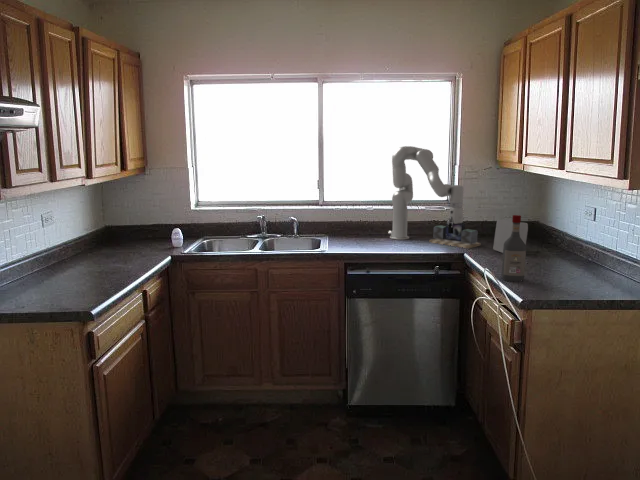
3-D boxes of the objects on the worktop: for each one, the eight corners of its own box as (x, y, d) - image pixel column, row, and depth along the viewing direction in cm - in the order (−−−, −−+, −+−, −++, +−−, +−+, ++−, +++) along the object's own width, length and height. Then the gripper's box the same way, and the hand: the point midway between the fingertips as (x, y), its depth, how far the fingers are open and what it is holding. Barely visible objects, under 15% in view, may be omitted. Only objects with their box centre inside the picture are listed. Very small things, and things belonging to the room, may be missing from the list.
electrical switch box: (528, 255, 318) (533, 221, 317) (516, 255, 308) (521, 220, 307) (505, 251, 329) (509, 218, 327) (492, 251, 319) (497, 217, 317)
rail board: (429, 242, 347) (429, 226, 345) (441, 239, 357) (442, 224, 355) (468, 248, 327) (469, 232, 326) (480, 245, 337) (481, 229, 335)
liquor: (524, 282, 249) (529, 217, 244) (503, 281, 251) (508, 216, 245) (520, 277, 258) (525, 214, 253) (500, 276, 260) (504, 214, 254)
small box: (444, 239, 342) (445, 223, 340) (448, 238, 347) (449, 222, 345) (461, 241, 336) (461, 224, 334) (464, 240, 341) (465, 223, 339)
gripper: (454, 207, 329) (452, 234, 332) (468, 204, 341) (467, 231, 344) (443, 205, 334) (441, 233, 337) (458, 203, 346) (456, 230, 349)
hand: (454, 232), depth 341 cm, fingers open, 9 cm apart
